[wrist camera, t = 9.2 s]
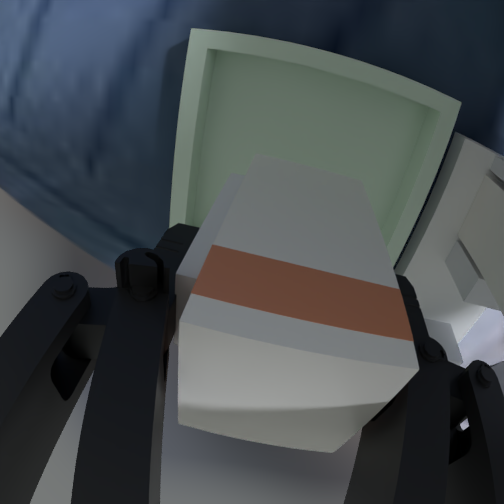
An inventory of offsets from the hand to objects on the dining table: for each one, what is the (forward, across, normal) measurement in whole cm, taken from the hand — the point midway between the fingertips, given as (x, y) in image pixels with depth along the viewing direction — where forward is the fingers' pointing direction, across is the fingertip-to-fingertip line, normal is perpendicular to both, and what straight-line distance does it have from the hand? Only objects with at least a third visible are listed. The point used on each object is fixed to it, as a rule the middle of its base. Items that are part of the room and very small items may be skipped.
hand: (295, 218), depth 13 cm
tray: (+7, 0, 0) cm, 7 cm away
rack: (+7, +13, -5) cm, 16 cm away
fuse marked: (0, 0, 0) cm, 0 cm away
